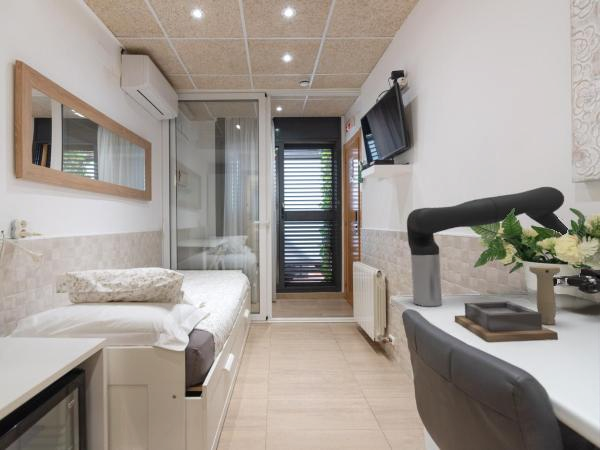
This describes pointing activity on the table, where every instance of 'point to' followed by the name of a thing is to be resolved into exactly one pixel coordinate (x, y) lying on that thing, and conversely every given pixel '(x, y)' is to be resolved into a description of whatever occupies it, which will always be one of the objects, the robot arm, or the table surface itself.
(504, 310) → the mottled stone tile
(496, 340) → the socket base
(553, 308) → the handle
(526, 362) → the table surface
